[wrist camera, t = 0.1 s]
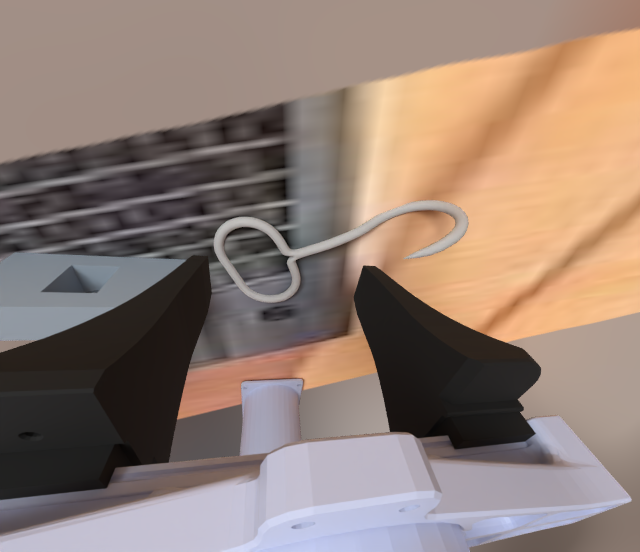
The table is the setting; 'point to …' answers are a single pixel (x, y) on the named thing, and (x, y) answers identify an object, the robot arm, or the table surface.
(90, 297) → the hitch block
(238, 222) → the hook
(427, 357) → the robot arm
